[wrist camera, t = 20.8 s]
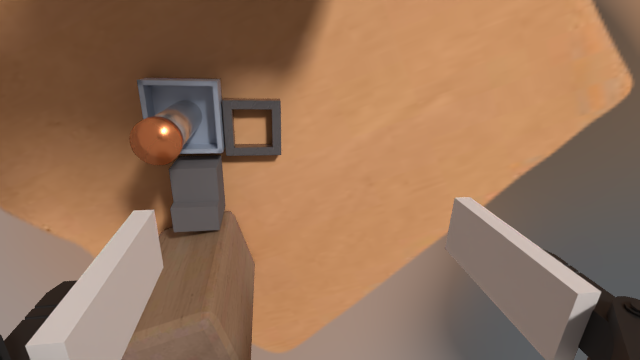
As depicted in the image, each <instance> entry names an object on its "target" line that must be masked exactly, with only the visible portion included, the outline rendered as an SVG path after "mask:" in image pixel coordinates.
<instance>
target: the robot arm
mask: <svg viewBox="0 0 640 360" xmlns="http://www.w3.org/2000/svg"><path fill="white" fill-rule="evenodd" d="M445 249H446V250H447V251H448V253H449V254H450V255H451V256H452V257H453V258H454V259H455V260H456V261H457V262H458V264H459V265H460V266H461V267H462V268H463V269H464V270H465V271H466V272H467V273H468V275H469V276H470V277H471V278H472V279H473V280H474V281H475V282H476V283H477V284H478V286H479V287H480V288H481V289H482V290H483V291H484V292H485V293H486V294H487V296H488V297H489V298H490V299H491V300H492V301H493V302H494V303H495V304H496V305H497V306H498V308H499V309H500V310H501V311H502V312H503V313H504V314H505V315H506V316H507V318H508V319H509V320H510V321H511V322H512V323H513V324H514V325H515V326H516V328H517V329H518V330H519V331H520V332H521V333H522V334H523V335H524V336H525V337H526V339H527V340H528V341H529V342H530V343H531V344H532V345H533V346H534V347H535V348H536V350H537V351H538V352H539V353H540V354H541V355H542V356H543V357H544V358H545V360H574V358H575V355H576V353H577V350H578V348H580V349H581V350H582V351H583V352H584V353H585V354H586V355H587V356H588V358H587V360H640V300H638V299H635V298H630V297H626V296H618V297H614V296H613V295H611V294H610V293H609V292H607V291H606V290H605V289H603V288H602V287H600V286H599V285H597V284H596V283H595V282H593V281H592V280H590V279H589V278H587V277H586V276H585V275H583V274H582V273H579V272H578V270H576V269H575V268H573V267H572V266H569V265H568V263H566V262H565V261H564V260H562V259H561V258H559V257H558V256H556V255H555V254H552V253H550V252H548V251H546V250H544V249H541V248H540V247H538V246H537V245H536V244H534V243H533V242H531V241H530V240H529V239H527V238H526V237H524V236H523V235H522V234H520V233H519V232H518V231H516V230H515V229H513V228H512V227H511V226H509V225H508V224H506V223H505V222H504V221H502V220H501V219H499V218H498V217H497V216H495V215H494V214H493V213H491V212H490V211H488V210H487V209H486V208H484V207H483V206H481V205H480V204H479V203H477V202H476V201H475V200H473V199H472V198H470V197H461V198H455V199H454V204H453V210H452V215H451V220H450V225H449V230H448V236H447V241H446V246H445ZM163 267H164V266H163V260H162V254H161V248H160V242H159V236H158V230H157V224H156V218H155V212H154V210H134V211H133V212H132V213H131V215H130V216H129V217H128V218H127V220H126V221H125V222H124V223H123V225H122V226H121V227H120V228H119V230H118V231H117V232H116V233H115V235H114V236H113V237H112V238H111V240H110V241H109V242H108V243H107V245H106V246H105V247H104V248H103V249H102V251H101V252H100V253H99V254H98V256H97V257H96V258H95V259H94V261H93V262H92V263H91V265H90V266H89V267H88V268H87V270H86V271H85V272H84V273H83V274H82V276H81V277H80V278H79V280H78V281H64V282H62V283H61V284H59V285H58V286H56V287H55V288H53V289H52V290H50V291H49V292H47V293H46V294H45V296H44V297H43V298H42V299H41V300H40V301H39V302H38V303H37V304H36V305H35V308H34V309H32V310H31V311H30V312H29V313H28V315H27V316H26V317H25V320H22V321H21V323H20V324H19V325H18V326H17V327H16V328H15V329H14V330H13V331H12V333H11V334H10V335H9V336H8V337H7V338H6V339H5V340H4V341H3V338H2V336H1V335H0V360H121V359H122V357H123V355H124V352H125V350H126V348H127V346H128V344H129V341H130V339H131V337H132V335H133V333H134V330H135V328H136V326H137V324H138V322H139V320H140V317H141V315H142V313H143V311H144V309H145V306H146V304H147V302H148V300H149V298H150V296H151V293H152V291H153V289H154V287H155V285H156V282H157V280H158V278H159V276H160V274H161V272H162V269H163Z"/></svg>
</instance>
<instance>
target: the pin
mask: <svg viewBox="0 0 640 360" xmlns="http://www.w3.org/2000/svg"><path fill="white" fill-rule="evenodd" d="M201 122H202V112H201V110H200V108H199V107H198V106H197V105H196V104H195V103H193V102H191V101H188V100H181V101H178V102H176V103H174V104H173V105H171V106H169V107H168V108H166V109H165V110H163V111H161V112H160V113H158V114H156V115H155V116H152V117H148V118H145V119H143V120H142V121H140V122H139V123H137V124H136V125H135V126H134V127H133V129H132V131H131V133H130V145H131V148H132V150H133V152H134V153H135V154H136V155H137V156H138V157H139V158H140V159H141V160H143V161H144V162H146V163H149V164H152V165H165V164H168V163H170V162H172V161H173V160H175V159H176V157H177V156H178V155H179V154H180V152H181V151H182V148H183V145H184V144H185V143H186V142H187V140H188V139H189V138H190V137H191V135H192V134H193V133H194V132H195V131H196V129H197V128H198V127H199V126H200V124H201Z"/></svg>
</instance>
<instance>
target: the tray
mask: <svg viewBox="0 0 640 360" xmlns="http://www.w3.org/2000/svg"><path fill="white" fill-rule="evenodd" d="M137 84H138V90H139V96H140V102H141V108H142V115H143V119H145V118H148V117H152V116H155V115H156V114H158V113H160V112H161V111H163V110H165V109H166V108H168V107H169V106H171V105H173V104H174V103H176V102H178V101H181V100H188V101H191V102H193V103H195V104H196V105H197V106H198V107H199V108H200V110H201V112H202V122H201V124H200V126H199V127H198V128H197V129H196V131H195V132H194V133H193V134H192V135H191V137H190V138H189V139H188V140H187V142H186V143H185V144H184V145H183V148H182V151H181V152H180V154H193V153H223V151H224V148H225V135H224V122H223V108H222V95H221V81H220V79H195V78H143V79H139V80H137Z"/></svg>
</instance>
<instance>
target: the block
mask: <svg viewBox="0 0 640 360" xmlns="http://www.w3.org/2000/svg"><path fill="white" fill-rule="evenodd" d="M159 242H160V248H161V254H162V260H163V266H164V267H163V269H162V272H161V274H160V276H159V278H158V280H157V282H156V285H155V287H154V289H153V291H152V293H151V296H150V298H149V300H148V302H147V304H146V306H145V309H144V311H143V313H142V315H141V317H140V320H139V322H138V324H137V326H136V328H135V330H134V333H133V335H132V337H131V339H130V341H129V344H128V346H127V348H126V350H125V352H124V355H123V357H122V359H121V360H251V342H252V317H253V293H254V269H255V263H254V261H253V259H252V256H251V254H250V251H249V249H248V247H247V244H246V242H245V239H244V237H243V235H242V232H241V230H240V227H239V225H238V223H237V220H236V218H235V216H234V215H233V214H232V212H231V211H225V212H224V214H223V218H222V222H221V226H220V230H208V231H189V232H174V230H173V228H170V229H167V230H164V231H163V232H162V233H161V234H160V235H159Z"/></svg>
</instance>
